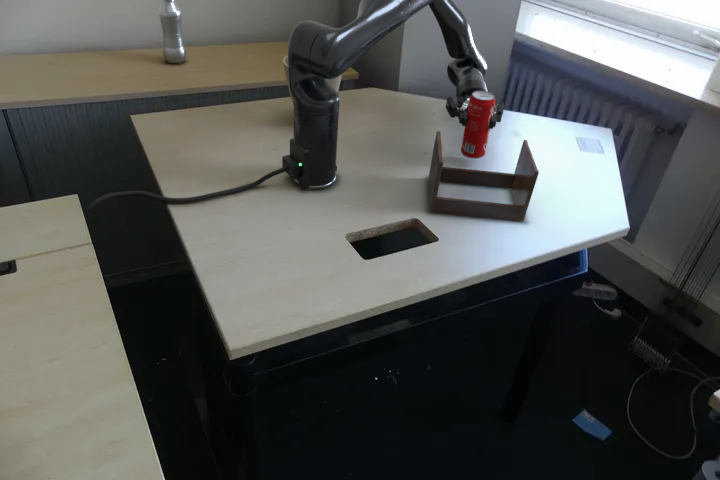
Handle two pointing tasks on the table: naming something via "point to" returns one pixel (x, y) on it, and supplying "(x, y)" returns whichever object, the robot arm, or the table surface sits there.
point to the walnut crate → (517, 182)
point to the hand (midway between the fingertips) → (478, 123)
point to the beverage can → (478, 124)
